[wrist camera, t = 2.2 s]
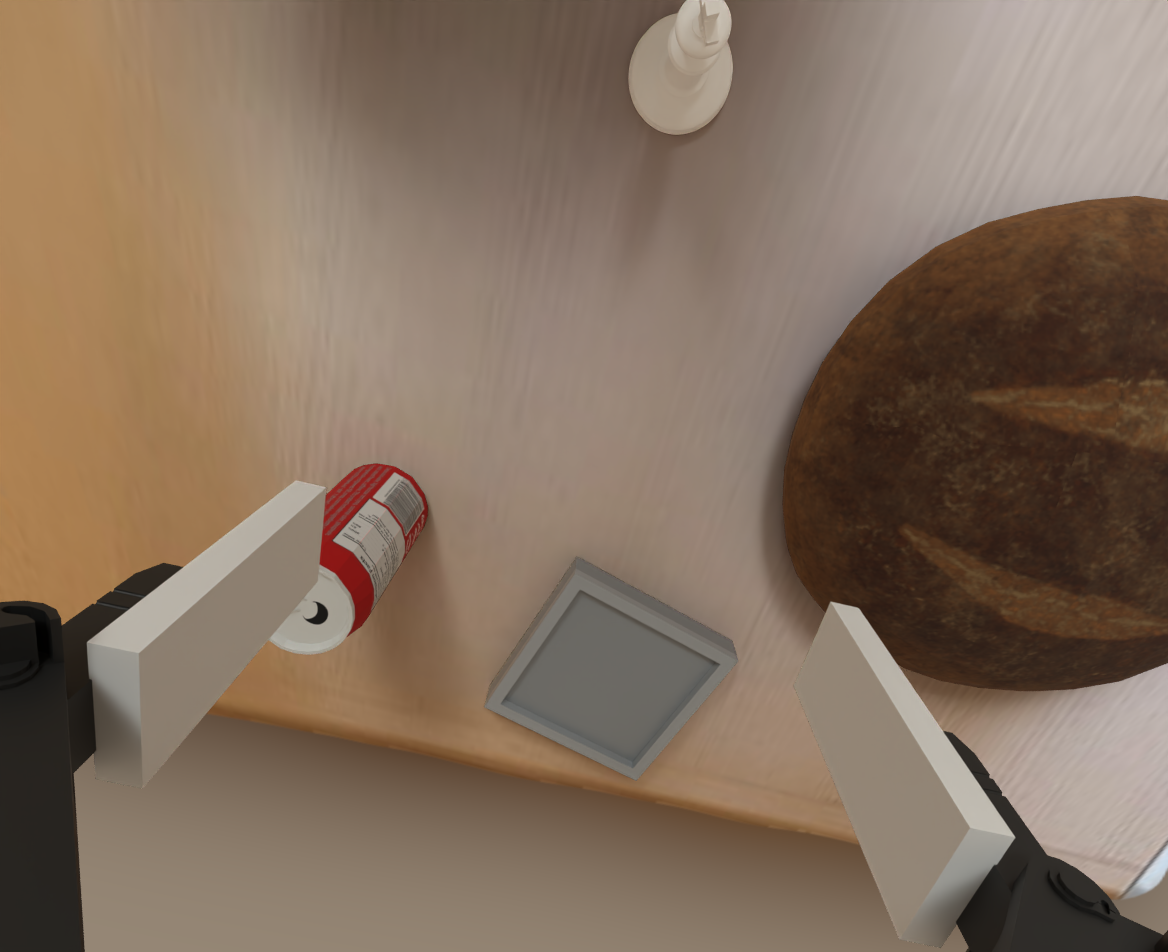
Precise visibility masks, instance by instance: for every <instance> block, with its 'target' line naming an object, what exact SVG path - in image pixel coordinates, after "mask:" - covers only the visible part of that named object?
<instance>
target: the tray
mask: <svg viewBox="0 0 1168 952" xmlns="http://www.w3.org/2000/svg"><path fill="white" fill-rule="evenodd" d="M737 662H738V658H737V655H736V651H735V648H734V645H733V642H732V640H730V639H728V638H726V637H724V636H722V635H721V634H719V633H717V632H715V631H713V630H711V629H710V628H708V627H706V626H704V625H702V624H700V623H698V622H697V621H695V620H693V619H691V618H689V617H687V616H686V615H684V614H682V613H680V612H678V611H676V610H674V609H673V608H671V607H669V606H667V605H665V604H663V603H662V602H660V601H658V600H656V599H654V598H652V597H651V596H649V595H647V594H645V593H643V592H641V591H639V590H638V589H636V588H634V587H632V586H630V585H628V584H627V583H625V582H623V581H621V580H619V579H617V578H615V577H614V576H612V575H610V574H608V573H606V572H604V571H603V570H601V569H599V568H597V567H595V566H593V565H592V564H590V563H588V562H586V561H584V560H582V559H580V558H579V557H576V559H575V560H574V562H573V563H572V564H571V566H570V567H569V569H568V570H567V572H566V573H565V575H564V576H563V578H562V579H561V581H560V582H559V584H558V585H557V587H556V588H555V590H554V591H553V593H552V594H551V596H550V597H549V599H548V600H547V601H546V603H545V604H544V606H543V607H542V609H541V610H540V612H539V613H538V615H537V616H536V618H535V619H534V621H533V622H532V624H531V625H530V627H529V628H528V630H527V631H526V633H525V634H524V636H523V637H522V638H521V640H520V641H519V643H518V644H517V646H516V647H515V649H514V650H513V652H512V653H511V655H510V656H509V658H508V659H507V661H506V662H505V664H504V665H503V667H502V668H501V670H500V671H499V672H498V674H497V675H496V677H495V678H494V680H493V681H492V683H491V684H490V686H489V690H488V694H487V698H486V701H485V705H484V707H485V708H487V709H489V710H491V711H493V712H495V713H497V714H499V715H501V716H504V717H506V718H508V719H510V720H512V721H514V722H516V723H518V724H520V725H522V726H524V727H526V728H528V729H530V730H532V731H535V732H537V733H539V734H541V735H543V736H545V737H547V738H549V739H551V740H553V741H555V742H557V743H559V744H561V745H563V746H565V747H568V748H570V749H572V750H574V751H576V752H578V753H580V754H582V755H584V756H586V757H588V758H590V759H592V760H594V761H596V762H598V763H601V764H603V765H605V766H607V767H609V768H611V769H613V770H615V771H617V772H619V773H621V774H623V775H625V776H627V777H629V778H631V779H634V780H636V781H637V779H638V778H639V777H640V776H641V775H642V774H643V772H644V771H645V770H646V769H647V768H648V767H649V765H650V764H651V763H652V762H653V761H654V760H655V758H656V757H657V756H658V755H659V754H660V753H661V751H662V750H663V749H664V748H665V747H666V745H667V744H668V743H669V742H670V741H671V740H672V738H673V737H674V736H675V735H676V734H677V733H678V731H679V730H680V729H681V728H682V727H683V726H684V724H685V723H686V722H687V721H688V720H689V719H690V717H691V716H692V715H693V714H694V713H695V711H696V710H697V709H698V708H699V707H700V706H701V704H702V703H703V702H704V701H705V700H706V699H707V697H708V696H709V695H710V694H711V693H712V692H713V690H714V689H715V688H716V687H717V686H718V685H719V683H720V682H721V681H722V680H723V679H724V677H725V676H726V675H727V674H728V673H729V672H730V670H731V669H732V668H733V667H734V666H735V665H736V663H737Z"/></svg>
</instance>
